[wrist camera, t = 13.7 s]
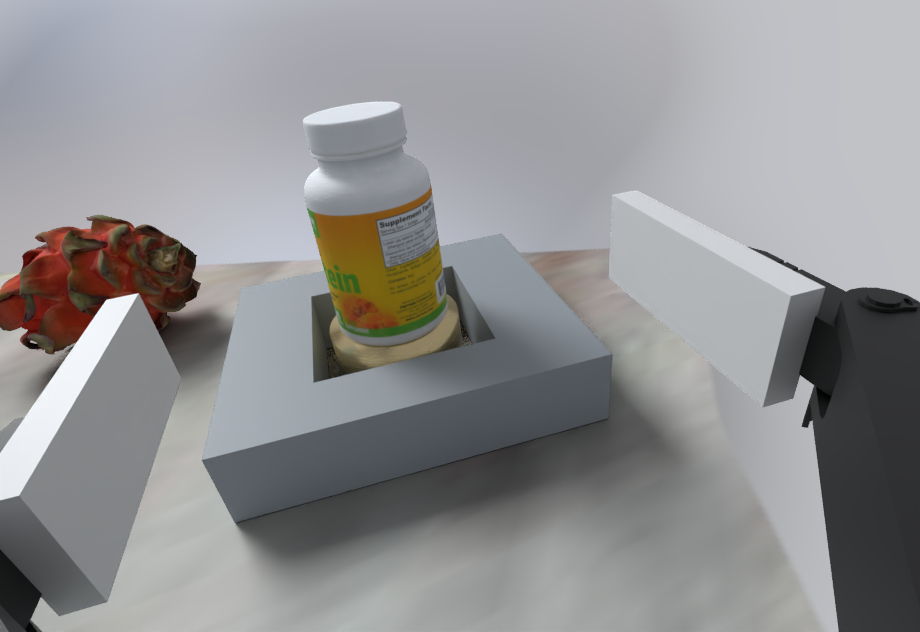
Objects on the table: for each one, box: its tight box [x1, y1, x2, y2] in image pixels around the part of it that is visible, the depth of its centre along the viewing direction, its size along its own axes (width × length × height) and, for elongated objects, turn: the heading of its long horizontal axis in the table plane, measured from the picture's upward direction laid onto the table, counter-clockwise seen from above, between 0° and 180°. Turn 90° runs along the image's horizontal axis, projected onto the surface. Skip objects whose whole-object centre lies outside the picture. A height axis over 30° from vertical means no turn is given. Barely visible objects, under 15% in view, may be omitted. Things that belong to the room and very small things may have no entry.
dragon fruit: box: [0, 215, 201, 354], centre depth 32 cm, size 8×8×12 cm
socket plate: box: [202, 234, 612, 523], centre depth 27 cm, size 16×14×4 cm
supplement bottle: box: [303, 102, 447, 346], centre depth 23 cm, size 5×5×10 cm
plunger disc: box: [330, 294, 463, 376], centre depth 26 cm, size 6×6×2 cm
